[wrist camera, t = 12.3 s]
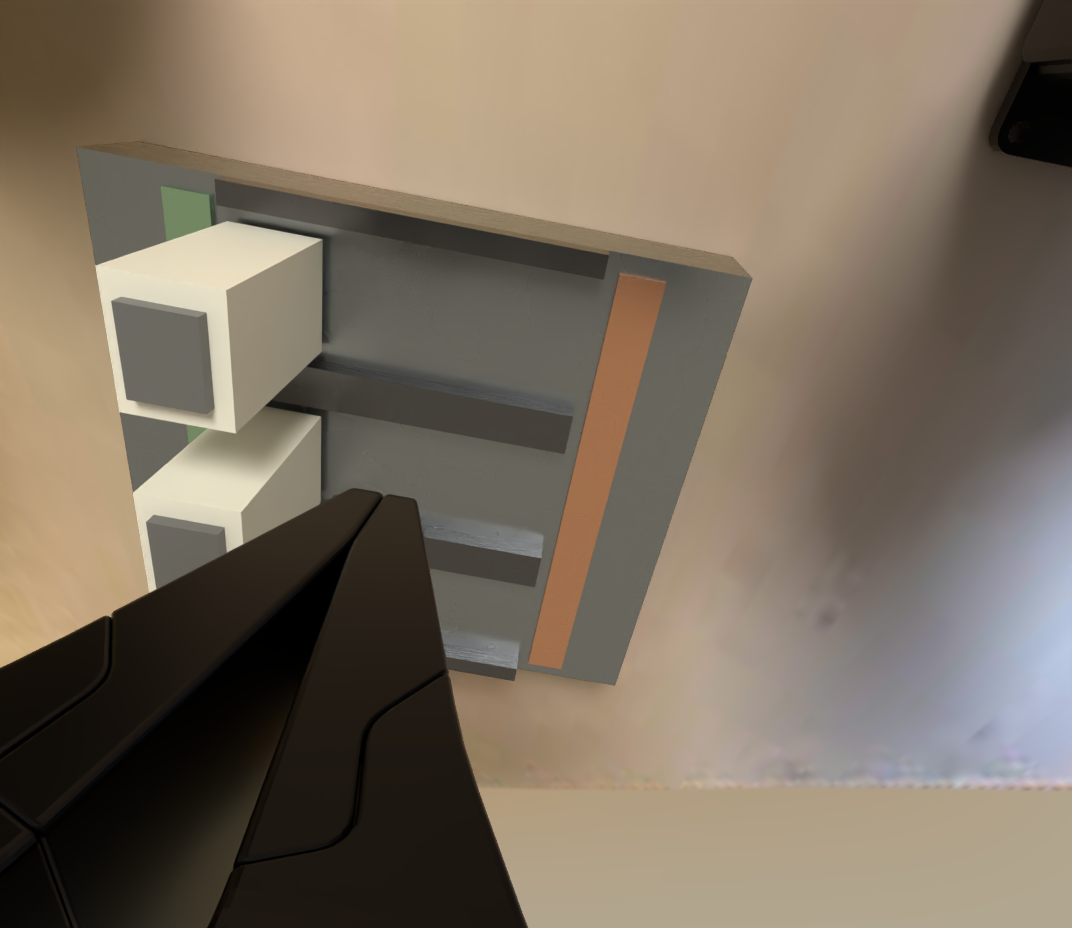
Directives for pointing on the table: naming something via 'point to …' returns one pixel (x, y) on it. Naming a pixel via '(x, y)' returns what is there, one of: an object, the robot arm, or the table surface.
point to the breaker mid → (228, 491)
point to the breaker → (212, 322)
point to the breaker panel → (472, 387)
